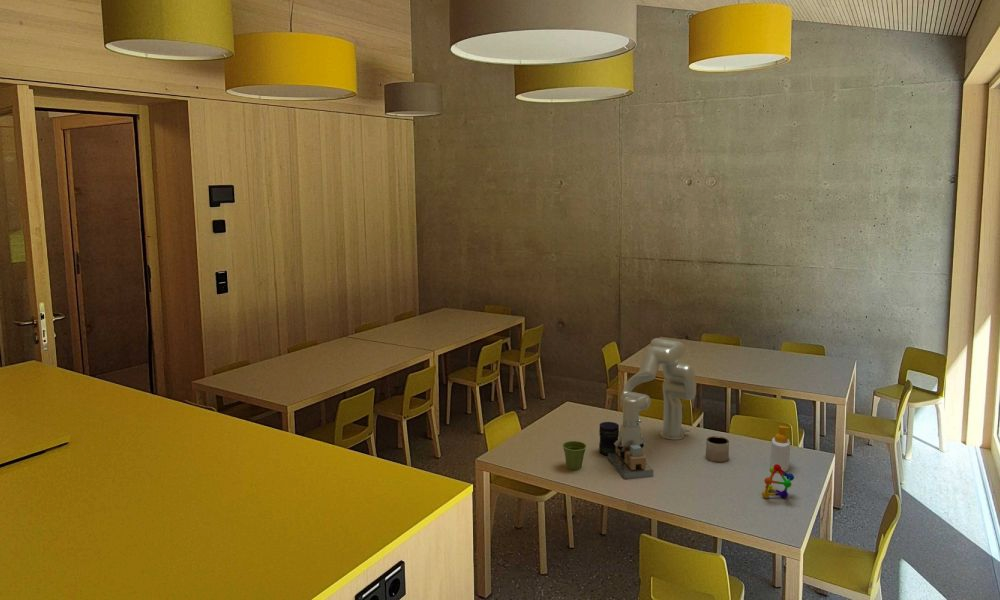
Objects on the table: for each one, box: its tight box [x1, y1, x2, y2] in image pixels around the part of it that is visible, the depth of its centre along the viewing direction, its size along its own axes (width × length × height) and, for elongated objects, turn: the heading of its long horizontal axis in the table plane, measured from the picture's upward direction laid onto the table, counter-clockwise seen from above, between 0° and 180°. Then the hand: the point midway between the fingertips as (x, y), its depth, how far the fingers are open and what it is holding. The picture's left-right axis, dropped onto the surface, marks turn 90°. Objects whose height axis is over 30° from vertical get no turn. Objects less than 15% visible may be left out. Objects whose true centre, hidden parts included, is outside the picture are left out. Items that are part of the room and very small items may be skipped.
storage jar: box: [598, 421, 620, 458], centre depth 350 cm, size 10×10×15 cm
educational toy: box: [761, 464, 795, 499], centre depth 301 cm, size 16×13×15 cm
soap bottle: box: [770, 425, 791, 472], centre depth 329 cm, size 13×8×20 cm, turn 160°
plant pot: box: [561, 440, 588, 471], centre depth 334 cm, size 12×12×11 cm
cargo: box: [630, 445, 642, 457], centre depth 325 cm, size 4×4×4 cm
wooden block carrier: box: [616, 443, 647, 470], centre depth 333 cm, size 22×7×6 cm, turn 10°
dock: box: [607, 453, 654, 480], centre depth 333 cm, size 14×24×3 cm, turn 10°
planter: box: [705, 435, 730, 463], centre depth 342 cm, size 11×11×10 cm
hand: (630, 457), depth 333 cm, fingers closed on wooden block carrier, 7 cm apart
